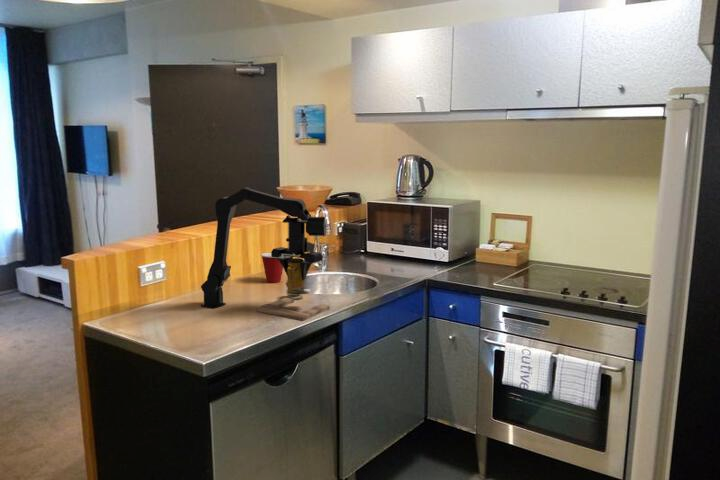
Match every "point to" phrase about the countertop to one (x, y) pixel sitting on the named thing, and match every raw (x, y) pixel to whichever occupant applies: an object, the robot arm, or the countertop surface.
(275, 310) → the brown frame
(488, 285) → the countertop surface
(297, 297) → the spool
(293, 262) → the condiment
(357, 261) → the countertop surface
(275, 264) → the plastic cup
